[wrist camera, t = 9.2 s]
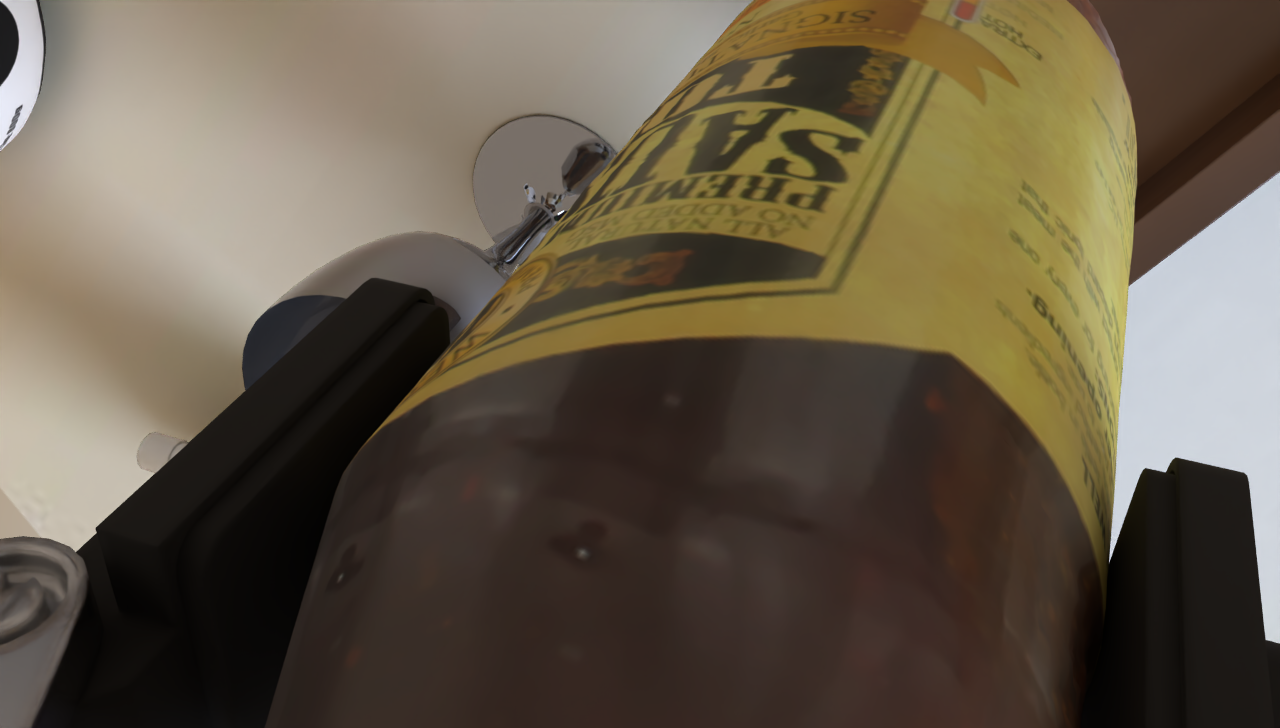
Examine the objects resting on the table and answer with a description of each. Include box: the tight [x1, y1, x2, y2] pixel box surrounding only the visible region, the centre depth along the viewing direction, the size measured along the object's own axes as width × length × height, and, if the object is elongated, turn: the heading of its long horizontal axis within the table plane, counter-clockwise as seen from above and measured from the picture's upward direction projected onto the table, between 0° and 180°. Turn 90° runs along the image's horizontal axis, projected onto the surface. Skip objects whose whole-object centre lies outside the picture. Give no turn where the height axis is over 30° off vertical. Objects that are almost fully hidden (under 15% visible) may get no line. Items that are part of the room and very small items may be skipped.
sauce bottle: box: [265, 0, 1137, 728], centre depth 11 cm, size 7×6×20 cm
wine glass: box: [242, 115, 617, 390], centre depth 42 cm, size 8×8×15 cm
